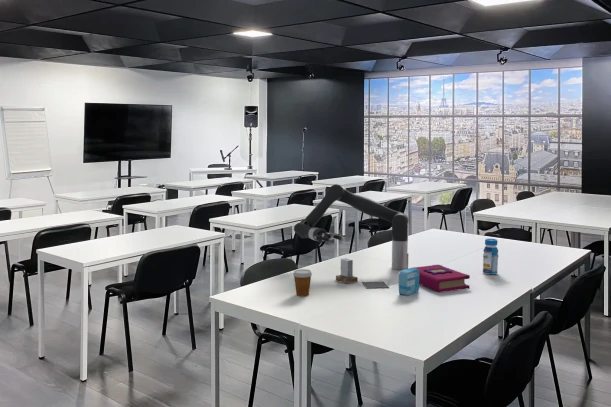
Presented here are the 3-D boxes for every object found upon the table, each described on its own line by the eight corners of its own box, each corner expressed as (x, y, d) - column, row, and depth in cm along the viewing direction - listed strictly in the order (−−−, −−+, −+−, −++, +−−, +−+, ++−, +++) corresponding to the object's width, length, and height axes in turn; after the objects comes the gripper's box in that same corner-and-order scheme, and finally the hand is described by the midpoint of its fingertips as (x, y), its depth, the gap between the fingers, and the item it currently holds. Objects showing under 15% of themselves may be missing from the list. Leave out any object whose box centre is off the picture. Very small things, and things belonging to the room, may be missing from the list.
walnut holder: (335, 280, 308) (335, 275, 308) (346, 278, 312) (346, 273, 312) (347, 283, 300) (347, 279, 300) (357, 281, 304) (357, 277, 304)
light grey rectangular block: (340, 280, 308) (340, 259, 306) (345, 279, 310) (345, 258, 308) (347, 282, 303) (347, 261, 301) (352, 281, 305) (352, 260, 303)
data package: (406, 296, 277) (406, 272, 275) (398, 294, 280) (398, 271, 278) (419, 291, 285) (419, 268, 284) (411, 289, 288) (412, 267, 287)
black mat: (384, 282, 304) (384, 281, 304) (388, 287, 292) (388, 287, 292) (362, 282, 303) (362, 281, 303) (366, 288, 291) (366, 287, 291)
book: (437, 293, 283) (437, 278, 282) (406, 280, 309) (407, 266, 308) (470, 288, 291) (471, 274, 290) (438, 276, 317) (438, 263, 316)
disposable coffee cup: (298, 298, 274) (298, 274, 273) (290, 293, 282) (289, 270, 281) (315, 295, 278) (315, 272, 277) (306, 291, 287) (306, 268, 285)
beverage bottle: (498, 275, 316) (500, 241, 314) (483, 274, 318) (484, 240, 316) (496, 272, 325) (498, 238, 322) (481, 271, 326) (482, 237, 324)
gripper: (307, 229, 321) (324, 233, 308) (327, 227, 329) (344, 231, 316) (307, 242, 322) (324, 246, 309) (327, 239, 330) (344, 244, 317)
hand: (334, 238), depth 313 cm, fingers open, 8 cm apart
